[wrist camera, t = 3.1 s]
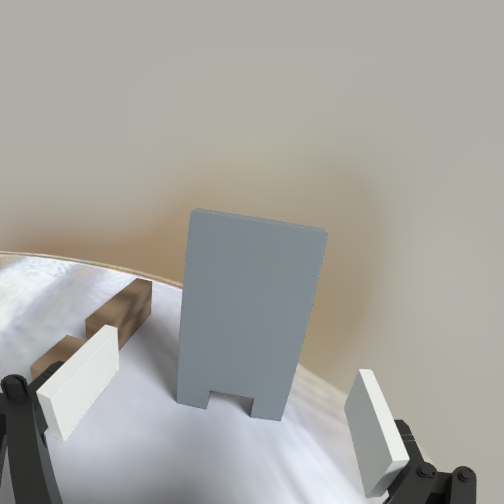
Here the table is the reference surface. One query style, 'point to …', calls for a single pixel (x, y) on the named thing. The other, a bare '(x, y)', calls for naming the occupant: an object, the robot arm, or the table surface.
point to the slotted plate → (245, 308)
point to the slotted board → (105, 323)
